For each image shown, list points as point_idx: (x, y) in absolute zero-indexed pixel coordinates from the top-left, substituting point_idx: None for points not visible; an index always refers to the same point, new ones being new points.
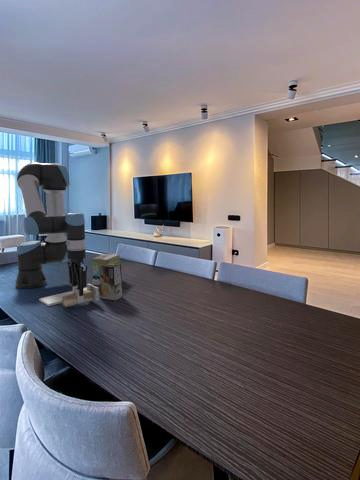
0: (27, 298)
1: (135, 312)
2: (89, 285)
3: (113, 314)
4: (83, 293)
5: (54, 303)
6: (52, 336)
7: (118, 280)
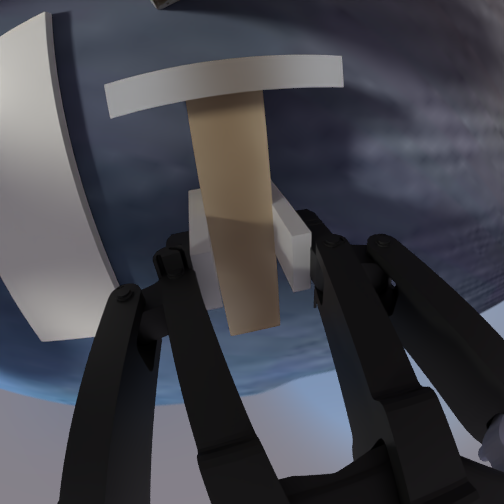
0: (12, 354)
1: (484, 33)
2: (176, 101)
3: (456, 105)
4: (316, 216)
5: None
6: None
7: None
